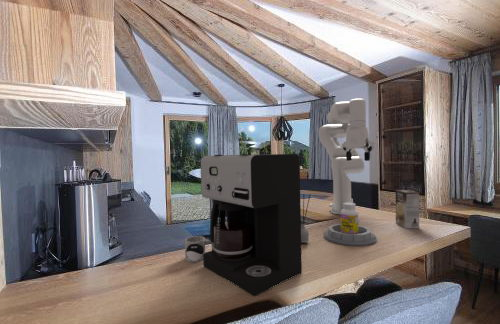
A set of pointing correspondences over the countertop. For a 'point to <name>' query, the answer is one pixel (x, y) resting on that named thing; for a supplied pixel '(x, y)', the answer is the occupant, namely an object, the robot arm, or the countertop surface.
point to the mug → (196, 248)
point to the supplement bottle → (349, 219)
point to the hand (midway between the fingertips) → (357, 160)
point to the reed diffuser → (304, 231)
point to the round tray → (373, 239)
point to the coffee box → (407, 208)
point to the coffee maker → (253, 218)
